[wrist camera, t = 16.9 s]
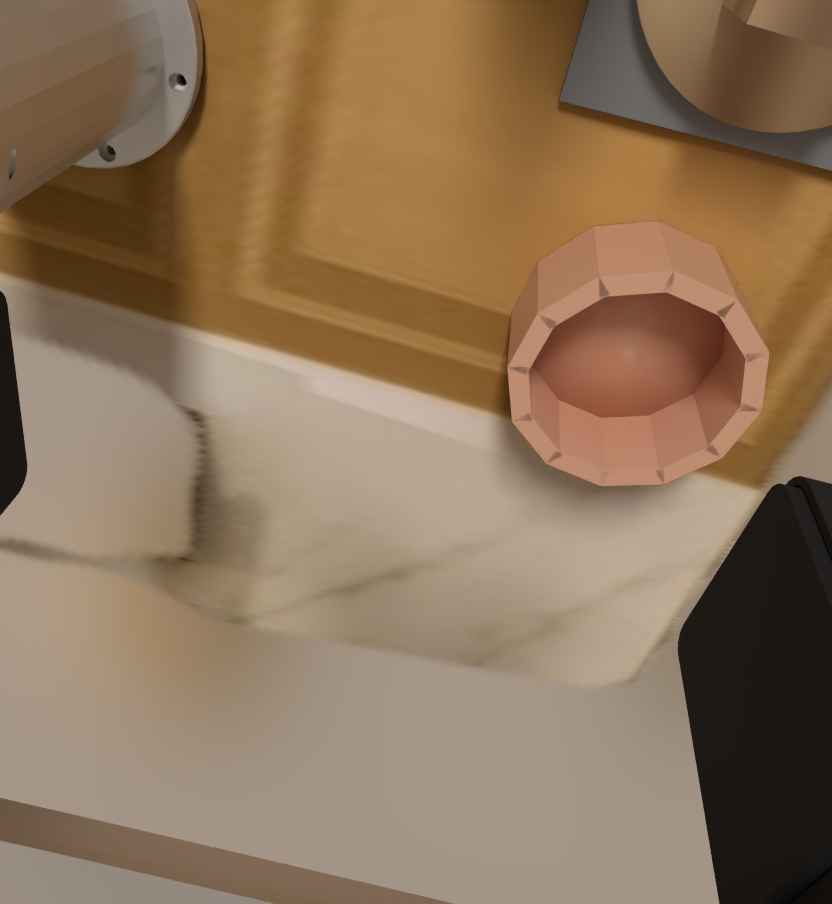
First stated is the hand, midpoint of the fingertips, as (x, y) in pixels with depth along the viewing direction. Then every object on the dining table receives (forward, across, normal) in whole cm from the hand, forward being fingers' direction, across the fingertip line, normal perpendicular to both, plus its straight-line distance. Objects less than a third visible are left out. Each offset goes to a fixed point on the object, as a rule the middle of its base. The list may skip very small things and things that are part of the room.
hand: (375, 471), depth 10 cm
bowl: (+32, -11, +13) cm, 36 cm away
